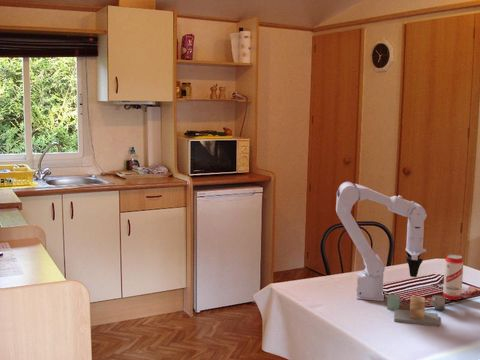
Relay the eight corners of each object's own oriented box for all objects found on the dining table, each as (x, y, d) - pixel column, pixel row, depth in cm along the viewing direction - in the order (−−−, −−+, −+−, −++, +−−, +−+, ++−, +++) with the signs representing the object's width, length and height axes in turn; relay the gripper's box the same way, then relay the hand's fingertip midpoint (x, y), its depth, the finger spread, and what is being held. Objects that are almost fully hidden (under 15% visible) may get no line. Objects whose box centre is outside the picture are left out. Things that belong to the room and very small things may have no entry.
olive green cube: (387, 309, 192) (387, 298, 191) (387, 304, 196) (387, 294, 195) (399, 310, 191) (399, 299, 190) (399, 305, 194) (399, 295, 194)
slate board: (394, 321, 182) (394, 318, 181) (394, 311, 189) (394, 309, 189) (438, 326, 178) (439, 323, 178) (437, 316, 185) (437, 313, 185)
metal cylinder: (431, 310, 190) (432, 299, 190) (430, 305, 194) (431, 294, 194) (444, 311, 189) (445, 300, 188) (443, 306, 193) (444, 296, 193)
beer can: (462, 302, 197) (465, 259, 194) (444, 300, 198) (446, 258, 195) (459, 295, 203) (462, 254, 200) (441, 294, 204) (444, 253, 201)
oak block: (409, 318, 182) (410, 300, 181) (409, 312, 186) (410, 295, 185) (423, 319, 180) (424, 302, 179) (423, 314, 185) (424, 297, 184)
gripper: (427, 243, 190) (425, 280, 192) (425, 232, 203) (424, 267, 206) (406, 242, 192) (404, 279, 194) (406, 231, 205) (404, 265, 208)
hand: (413, 273), depth 200 cm, fingers open, 7 cm apart
